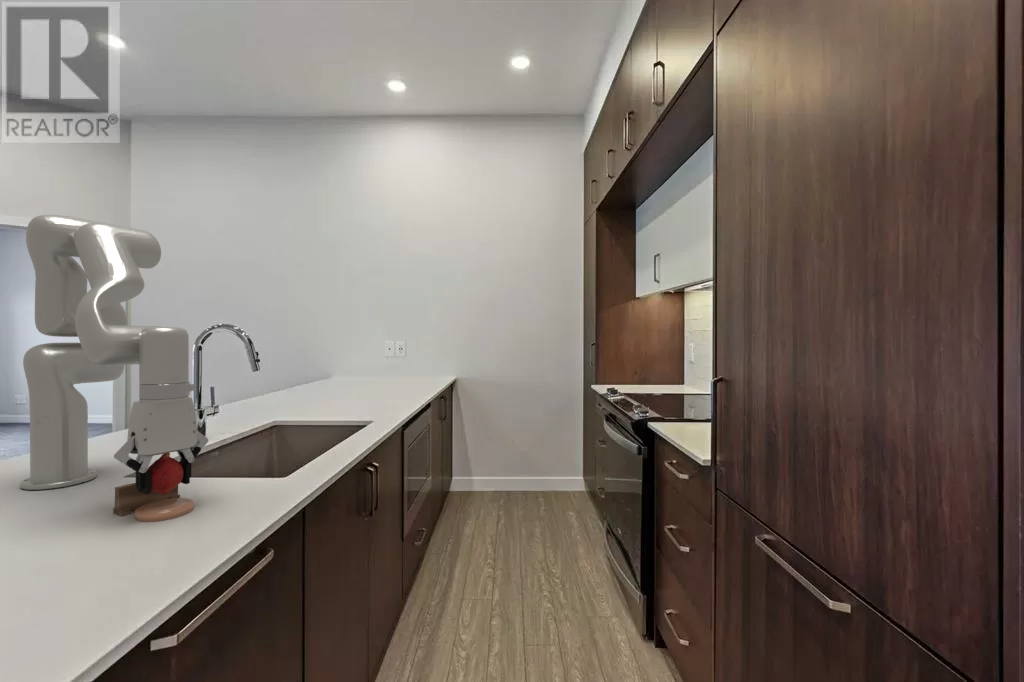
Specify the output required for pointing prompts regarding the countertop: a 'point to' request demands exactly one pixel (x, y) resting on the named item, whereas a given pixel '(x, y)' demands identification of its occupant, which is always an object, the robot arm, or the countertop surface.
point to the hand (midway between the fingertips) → (164, 486)
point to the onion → (165, 474)
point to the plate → (164, 509)
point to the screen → (137, 498)
